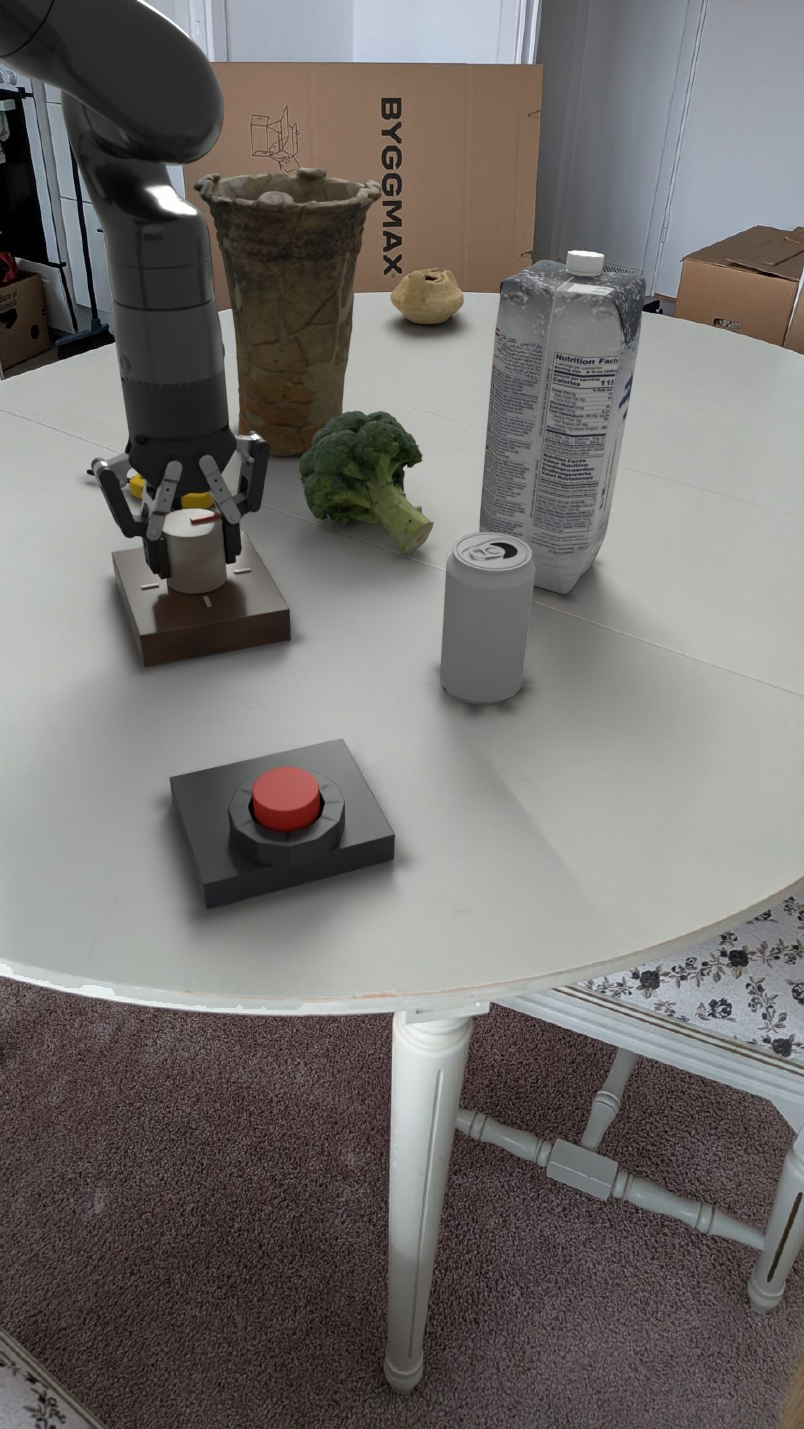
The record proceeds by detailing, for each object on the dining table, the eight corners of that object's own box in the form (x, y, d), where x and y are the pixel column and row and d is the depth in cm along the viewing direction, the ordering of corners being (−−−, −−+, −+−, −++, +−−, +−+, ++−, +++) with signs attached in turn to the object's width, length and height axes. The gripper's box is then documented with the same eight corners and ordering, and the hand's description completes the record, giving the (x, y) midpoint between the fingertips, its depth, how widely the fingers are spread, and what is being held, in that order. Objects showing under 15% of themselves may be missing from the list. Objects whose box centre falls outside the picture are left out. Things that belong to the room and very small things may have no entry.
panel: (144, 667, 78) (139, 634, 76) (116, 581, 89) (110, 550, 87) (291, 639, 82) (289, 607, 80) (247, 560, 92) (245, 529, 90)
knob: (176, 599, 81) (168, 538, 77) (158, 571, 84) (150, 511, 81) (235, 586, 83) (230, 526, 79) (215, 559, 86) (209, 500, 83)
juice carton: (573, 605, 88) (623, 281, 71) (466, 573, 91) (490, 259, 75) (608, 562, 94) (661, 255, 77) (506, 534, 98) (536, 236, 81)
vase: (186, 433, 115) (159, 172, 98) (302, 394, 126) (296, 154, 109) (292, 482, 105) (282, 202, 89) (408, 435, 116) (417, 179, 100)
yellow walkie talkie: (198, 498, 98) (70, 469, 102) (199, 516, 99) (73, 487, 103) (223, 479, 101) (99, 452, 105) (224, 497, 102) (101, 469, 107)
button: (263, 839, 59) (262, 817, 58) (246, 796, 62) (244, 774, 61) (328, 823, 60) (327, 801, 59) (308, 781, 63) (307, 760, 62)
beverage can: (535, 700, 76) (554, 562, 69) (459, 718, 74) (470, 578, 67) (498, 656, 81) (513, 522, 74) (426, 671, 79) (433, 535, 72)
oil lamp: (468, 306, 158) (472, 252, 153) (457, 335, 146) (461, 278, 141) (400, 301, 159) (402, 247, 154) (384, 329, 147) (385, 272, 142)
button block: (208, 915, 59) (201, 868, 56) (172, 801, 66) (165, 756, 64) (397, 864, 63) (398, 818, 60) (343, 762, 70) (342, 717, 68)
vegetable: (350, 567, 87) (254, 446, 91) (385, 601, 100) (300, 493, 103) (457, 477, 86) (356, 358, 90) (480, 522, 98) (390, 416, 102)
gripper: (246, 334, 78) (259, 531, 88) (59, 359, 72) (97, 565, 83) (283, 364, 72) (293, 569, 83) (85, 393, 67) (122, 609, 77)
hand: (195, 566), depth 83 cm, fingers closed on knob, 5 cm apart
